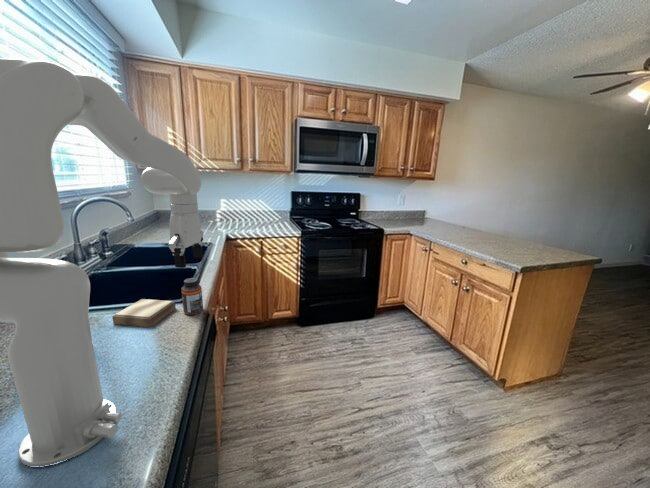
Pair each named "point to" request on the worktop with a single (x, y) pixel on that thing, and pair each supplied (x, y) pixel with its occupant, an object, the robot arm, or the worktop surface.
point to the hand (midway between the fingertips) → (189, 262)
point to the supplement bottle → (192, 297)
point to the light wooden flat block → (144, 313)
